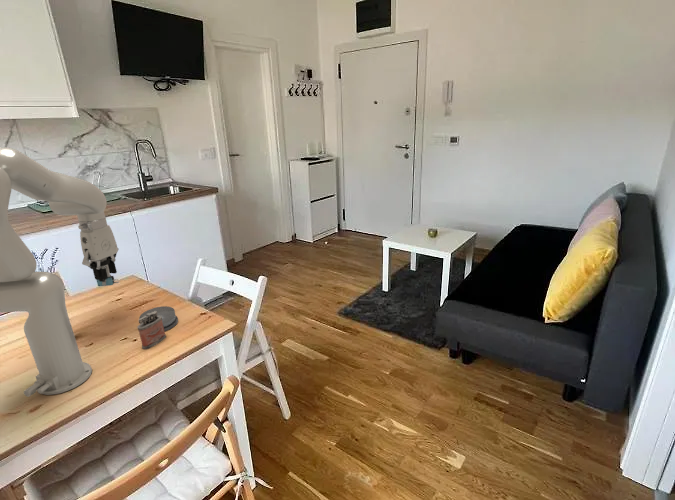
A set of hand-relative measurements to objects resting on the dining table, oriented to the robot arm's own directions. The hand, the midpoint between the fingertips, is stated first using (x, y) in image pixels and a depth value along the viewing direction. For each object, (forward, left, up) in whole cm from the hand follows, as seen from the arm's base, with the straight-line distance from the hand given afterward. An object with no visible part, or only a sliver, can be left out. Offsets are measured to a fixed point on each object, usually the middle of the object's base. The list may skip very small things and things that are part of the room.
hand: (106, 275), depth 130 cm
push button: (0, 0, -4) cm, 4 cm away
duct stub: (-2, -18, -16) cm, 24 cm away
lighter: (-12, -23, -17) cm, 31 cm away
